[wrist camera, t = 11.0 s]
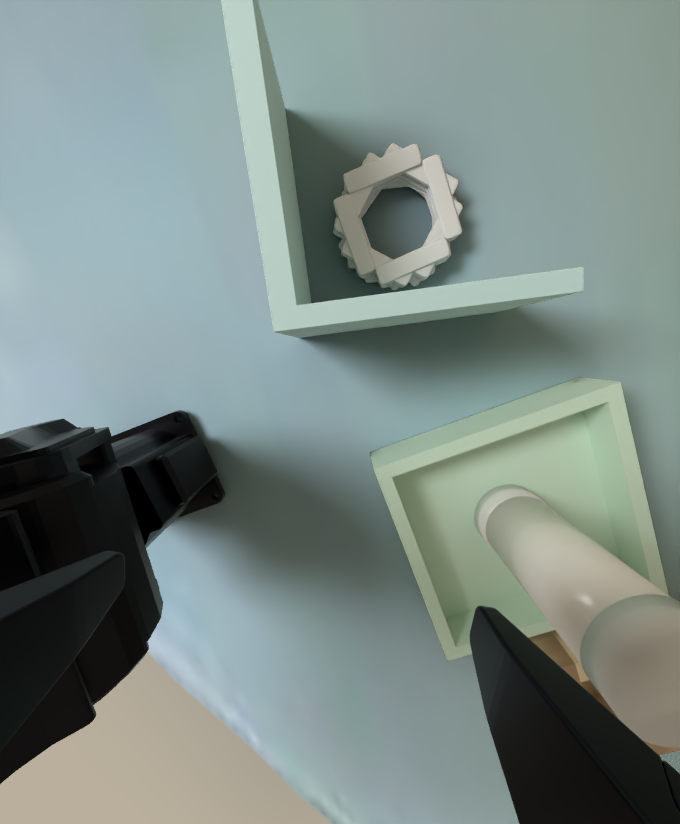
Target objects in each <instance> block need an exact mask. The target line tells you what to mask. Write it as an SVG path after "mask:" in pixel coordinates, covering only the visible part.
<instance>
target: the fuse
mask: <svg viewBox="0 0 680 824" xmlns="http://www.w3.org/2000/svg"><path fill="white" fill-rule="evenodd" d="M474 522H475V526H476V529H477V531H478V532H479V534H480V535H481V536H482V538H483V539H484V540H485V542H486V543H487V544H488V546H489V547H490V548H491V549H492V550H493V551H494V552H495V553H496V554H497V555H498V556H499V557H500V559H501V560H502V561H503V563H504V564H505V565H506V566H507V568H508V569H509V570H510V572H511V573H512V574H513V576H514V577H515V578H516V580H517V581H518V582H519V583H520V585H521V586H522V587H523V589H524V590H525V591H526V593H527V594H528V595H529V597H530V598H531V599H532V600H533V602H534V603H535V604H536V606H537V607H538V608H539V610H540V611H541V612H542V614H543V615H544V616H545V617H546V619H547V620H548V621H549V623H550V624H551V625H552V627H553V628H554V629H555V631H556V632H557V633H558V634H559V636H560V637H561V638H562V640H563V641H564V642H565V644H566V645H567V646H568V648H569V649H570V650H571V651H572V653H573V654H574V655H575V657H576V658H577V659H578V661H579V662H580V663H581V665H582V668H583V670H584V672H585V674H586V675H587V677H588V678H589V680H590V681H591V682H592V684H593V685H594V686H595V688H596V689H597V690H598V692H599V693H600V694H601V696H602V697H603V698H604V700H605V701H606V702H607V704H608V705H609V706H610V708H611V709H612V710H613V712H614V713H615V714H616V715H617V717H618V718H619V719H620V721H621V722H623V723H624V724H625V725H626V726H627V727H628V728H629V729H630V730H631V731H633V732H634V733H635V734H636V735H637V736H638V737H639V738H640V739H641V740H643V741H645V742H648V743H650V744H653V745H657V746H662V747H673V748H678V747H680V601H678V600H676V599H674V598H671V597H669V596H668V595H667V594H665V593H664V592H663V591H661V590H660V589H659V588H657V587H656V586H655V585H653V584H652V583H650V582H649V581H648V580H646V579H645V578H644V577H642V576H641V575H640V574H638V573H637V572H636V571H634V570H633V569H632V568H630V567H629V566H628V565H626V564H625V563H624V562H622V561H621V560H619V559H618V558H617V557H615V556H614V555H613V554H611V553H610V552H609V551H607V550H606V549H605V548H603V547H602V546H601V545H599V544H598V543H597V542H595V541H594V540H593V539H591V538H590V537H589V536H587V535H586V534H584V533H583V532H582V531H580V530H579V529H578V528H576V527H575V526H574V525H572V524H571V523H570V522H568V521H567V520H566V519H564V518H563V517H562V516H560V515H559V514H558V513H556V512H555V511H554V510H552V509H551V508H550V507H549V506H548V504H547V503H545V502H544V501H543V500H542V499H540V498H539V497H537V496H536V495H535V494H533V493H532V492H531V491H529V490H528V489H526V488H524V487H522V486H518V485H511V484H508V485H501V486H498V487H495V488H493V489H491V490H490V491H488V492H487V493H486V494H484V495H483V497H482V498H481V499H480V500H479V502H478V504H477V506H476V508H475V512H474Z"/></svg>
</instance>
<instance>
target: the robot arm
mask: <svg viewBox="0 0 680 824" xmlns="http://www.w3.org/2000/svg"><path fill="white" fill-rule="evenodd" d="M177 415H178V416H180V417H181V422H179V421H178V420H177ZM216 472H217V470H216V468H215V466H214V464H213V462H212V460H211V458H210V456H209V454H208V452H207V449H206V447H205V445H204V443H203V441H202V439H201V438H200V437H198V436H197V434H196V432H195V429H194V427H193V425H192V423H191V421H190V419H189V417H188V415H187V414H186V413H185V412H184V411H181V410H180V411H176V412H173V413H170V414H168V415H165V416H163V417H160V418H158V419H155V420H153V421H150V422H147V423H145V424H142V425H140V426H137V427H135V428H132V429H130V430H127V431H125V432H122V433H120V434H117V435H114V436H112V437H111V433H110V430H109V427H105V428H99V429H94V427H88V428H81V427H79V428H77V427H76V426H74V425H73V424H71V423H69V422H68V421H66V420H65V419H59V420H53V421H48V422H44V423H40V424H36V425H32V426H28V427H24V428H20V429H16V430H13V431H9V432H6V433H4V434H1V435H0V784H1V783H2V782H3V781H4V780H5V779H7V778H8V777H9V776H10V775H11V774H13V773H14V772H15V771H16V770H18V769H19V768H21V767H22V766H23V765H25V764H26V763H28V762H29V761H30V760H32V759H33V758H35V757H36V756H37V755H39V754H40V753H42V752H43V751H44V750H46V749H47V748H48V747H50V746H51V745H53V744H55V743H56V742H58V741H60V740H62V739H63V738H65V737H67V736H69V735H71V734H73V733H74V732H76V731H78V730H80V729H81V728H83V727H85V726H87V725H88V724H90V723H91V722H92V721H93V720H94V718H95V717H96V712H95V709H94V706H93V705H94V704H95V703H96V702H98V701H99V700H101V699H102V698H103V697H104V696H105V695H106V694H108V693H109V692H110V691H111V690H112V689H113V688H114V687H115V686H116V685H117V684H118V683H119V682H120V681H121V680H122V679H124V678H125V677H126V676H127V675H128V674H129V673H130V672H131V671H132V670H133V669H134V667H135V666H136V665H137V664H138V663H139V662H140V660H141V659H142V658H143V657H144V656H145V654H146V653H147V651H148V649H149V645H148V642H147V641H148V640H149V638H150V637H151V635H152V633H153V631H154V629H155V628H156V626H157V624H158V622H159V620H160V618H161V613H162V607H163V601H162V598H161V595H160V591H159V586H158V582H157V579H155V576H154V572H153V569H152V566H151V563H150V560H149V557H148V553H147V550H146V548H147V547H148V546H149V545H150V544H151V543H152V542H153V541H154V540H155V539H156V538H157V537H158V536H159V535H160V534H161V533H162V532H163V531H164V530H165V529H166V528H167V527H168V526H169V525H170V524H171V523H172V522H173V521H174V520H175V519H176V518H178V517H181V516H183V515H186V514H189V513H192V512H195V511H197V510H200V509H203V508H206V507H208V506H211V505H214V504H217V503H219V502H221V500H222V499H223V498H224V496H225V492H224V490H223V488H222V486H221V484H220V481H219V479H218V477H217V475H216ZM214 493H217V494H218V495H219V497H215V496H214ZM470 646H471V650H472V655H473V659H474V664H475V668H476V673H477V677H478V682H479V686H480V691H481V695H482V700H483V704H484V709H485V713H486V717H487V721H488V724H489V727H490V731H491V734H492V737H493V741H494V744H495V747H496V750H497V753H498V757H499V760H500V763H501V766H502V769H503V772H504V776H505V779H506V782H507V785H508V788H509V792H510V795H511V798H512V801H513V804H514V808H515V811H516V814H517V817H518V820H519V823H520V824H680V774H679V773H678V772H677V771H676V770H675V769H674V768H673V767H672V766H671V765H669V764H668V763H667V762H666V761H662V760H661V757H660V756H659V755H658V754H657V753H656V752H655V751H654V750H653V749H651V748H650V747H649V746H648V745H647V744H646V743H645V742H644V741H643V740H641V739H640V738H639V737H638V736H637V735H636V734H635V733H634V732H633V731H631V730H630V729H629V728H628V727H627V726H626V725H625V724H624V723H623V722H621V721H620V720H619V719H618V718H617V717H616V716H615V715H614V714H613V713H611V712H610V711H609V710H608V709H607V708H606V707H605V706H604V705H603V704H601V703H600V702H599V701H598V700H597V699H596V698H595V697H594V696H593V695H591V694H590V693H589V692H588V691H587V690H586V689H585V688H584V687H583V686H581V685H580V684H579V683H578V682H577V681H576V680H575V679H574V678H572V677H571V676H570V675H569V674H568V673H567V672H566V671H565V670H564V669H562V668H561V667H560V666H559V665H558V664H557V663H556V662H555V661H554V660H552V659H551V658H550V657H549V656H548V655H547V654H546V653H545V652H544V651H542V650H541V649H540V648H539V647H538V646H537V645H536V644H535V643H534V642H532V641H531V640H530V639H529V638H528V637H527V636H526V635H525V634H524V633H522V632H521V631H520V630H519V629H518V628H517V627H516V626H515V625H514V624H512V623H511V622H510V621H509V620H508V619H507V618H506V617H505V616H504V615H502V614H501V613H500V612H499V611H498V610H497V609H495V608H493V607H487V606H478V607H477V608H476V610H475V613H474V617H473V621H472V625H471V630H470Z"/></svg>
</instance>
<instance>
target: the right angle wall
mask: <svg viewBox="0 0 680 824" xmlns="http://www.w3.org/2000/svg"><path fill="white" fill-rule="evenodd" d="M221 4H222V10H223V17H224V23H225V29H226V35H227V42H228V48H229V54H230V60H231V67H232V73H233V79H234V86H235V92H236V98H237V104H238V111H239V117H240V123H241V130H242V136H243V142H244V148H245V155H246V161H247V167H248V173H249V180H250V186H251V192H252V199H253V205H254V211H255V217H256V224H257V230H258V236H259V243H260V249H261V255H262V261H263V268H264V274H265V280H266V286H267V293H268V299H269V305H270V312H271V318H272V324H273V330H274V332H277V333H281V334H285V335H289V336H293V337H297V338H302V337H310V336H318V335H325V334H333V333H341V332H348V331H356V330H364V329H371V328H379V327H387V326H394V325H402V324H410V323H417V322H425V321H433V320H440V319H448V318H456V317H464V316H471V315H479V314H487V313H494V312H500V311H505V310H509V309H513V308H517V307H521V306H525V305H529V304H533V303H537V302H541V301H545V300H549V299H553V298H557V297H561V296H565V295H569V294H573V293H578V292H582V291H583V267H578V268H570V269H563V270H555V271H548V272H541V273H533V274H526V275H518V276H511V277H503V278H496V279H488V280H481V281H474V282H466V283H459V284H451V285H444V286H436V287H429V288H422V289H414V290H407V291H399V292H392V293H384V294H377V295H369V296H362V297H355V298H347V299H340V300H332V301H325V302H317V303H312V302H311V295H310V287H309V280H308V273H307V265H306V258H305V251H304V243H303V236H302V229H301V221H300V214H299V206H298V199H297V192H296V184H295V177H294V170H293V162H292V155H291V148H290V140H289V133H288V126H287V118H286V111H285V106H284V102H283V98H282V94H281V90H280V86H279V82H278V78H277V74H276V70H275V66H274V62H273V59H272V55H271V51H270V47H269V43H268V39H267V35H266V31H265V27H264V23H263V19H262V15H261V11H260V7H259V3H258V0H221ZM343 180H344V183H345V185H344V190H345V191H343V192H342V196H341V197H338V198H336V199H335V200H333V205H334V207H335V208H334V209H335V212H336V215H337V217H336V219H335V224H334V230H333V233H334V234H335V235H336V236H338V237H340V238H342V240H341V241H340V243H339V248H340V249H341V255H342V256H344V257H346V258H347V262H348V267H349V269H356V271H357V274H358V276H359V277H361V278H362V279H365V282H366V283H374V282H378V283H379V284H380V286H381V288H386V287H389V288H391V289H392V290H394V291H395V290H397V289H398V287H401V288H403V287H404V286H406V285H407V284H408V282H409V283H410V284H411V285H413V286H417V285H418V284H419V283H420V281H421V280H425V279H426V278H428V277H429V275H433V274H434V273H435V266H437V265H439V264H441V263H443V262H446V261H447V260H448V258H449V257H450V256H451V250H450V241H452V240H454V239H456V238H457V237H458V235H460V234H461V233H462V227H461V224H460V221H459V215H460V213H461V211H462V209H463V205H462V204H461V203H459V202H458V201H457V200H456V198H455V197H454V196H452V195H453V194H454V192H455V190H456V188H457V186H458V183H459V181H458V180H457V179H456V178H454V177H452V176H451V175H449V174H447V173H445V170H444V167H443V163H442V160H441V157H440V155H439V154H436V155H433V156H430V157H428V158H426V159H424V160H422V158H421V154H420V150H419V147H418V145H417V144H412V145H410V146H407V147H405V148H401V147H400V146H398V145H396V144H393V143H392V144H391V145H390V146H389V148H388V149H387V150H386V152H385V154H384V156H383V157H382V158H380V157H378V156H376V155H375V154H373V153H369V154H367V156H366V158H365V160H364V161H363V163H362V165H361V167H358V168H356V169H354V170H351V171H349V172H347V173H344V175H343ZM400 187H410V188H412V189H414V190H416V191H417V192H418V193H419V194H420V195H422V196H423V197H424V198H425V199H426V201H427V204H428V207H429V210H430V213H431V216H432V229H431V231H430V233H429V235H428V237H427V239H426V241H425V242H424V244H423V246H422V247H421V248H419V249H416V250H414V251H412V252H410V253H407V254H405V255H403V256H401V257H398V258H396V259H394V260H393V259H391V258H389V257H387V256H386V255H384V254H382V253H380V252H378V251H376V250H374V249H373V248H371V245H370V242H369V239H368V237H367V234H366V231H365V228H364V225H363V222H362V217H363V216H364V214H365V213H366V211H367V210H368V208H369V207H370V205H371V204H372V202H373V201H374V200H375V198H376V197H377V195H378V194H379V192H380V191H381V189H390V188H400Z"/></svg>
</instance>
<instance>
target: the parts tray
mask: <svg viewBox="0 0 680 824" xmlns="http://www.w3.org/2000/svg"><path fill="white" fill-rule="evenodd" d="M370 455H371V460H372V465H373V469H374V472H375V474H376V477H377V480H378V482H379V485H380V487H381V490H382V493H383V495H384V498H385V500H386V503H387V506H388V508H389V511H390V513H391V516H392V519H393V521H394V524H395V526H396V529H397V532H398V534H399V537H400V539H401V542H402V544H403V547H404V550H405V552H406V555H407V557H408V560H409V563H410V565H411V568H412V570H413V573H414V576H415V578H416V581H417V583H418V586H419V589H420V591H421V594H422V596H423V599H424V602H425V604H426V607H427V609H428V612H429V614H430V617H431V620H432V622H433V625H434V627H435V630H436V633H437V635H438V638H439V640H440V643H441V646H442V648H443V651H444V653H445V656H446V659H447V661H450V660H453V659H457V658H460V657H464V656H467V655H470V654H472V650H471V646H470V630H471V625H472V621H473V617H474V613H475V610H476V608H477V607H478V606H487V607H493V608H495V609H497V610H498V611H499V612H500V613H501V614H502V615H504V616H505V617H506V618H507V619H508V620H509V621H510V622H511V623H512V624H514V625H515V626H516V627H517V628H518V629H519V630H520V631H521V632H522V633H524V634H525V635H526V636H527V637H528V638H529V637H532V636H536V635H539V634H543V633H546V632H549V631H553V630H555V629H554V628H553V627H552V625H551V624H550V623H549V621H548V620H547V619H546V617H545V616H544V615H543V614H542V612H541V611H540V610H539V608H538V607H537V606H536V604H535V603H534V602H533V600H532V599H531V598H530V597H529V595H528V594H527V593H526V591H525V590H524V589H523V587H522V586H521V585H520V583H519V582H518V581H517V580H516V578H515V577H514V576H513V574H512V573H511V572H510V570H509V569H508V568H507V566H506V565H505V564H504V563H503V561H502V560H501V559H500V557H499V556H498V555H497V554H496V553H495V552H494V551H493V550H492V549H491V548H490V547H489V546H488V544H487V543H486V542H485V540H484V539H483V538H482V536H481V535H480V534H479V532H478V531H477V529H476V526H475V522H474V512H475V508H476V506H477V504H478V502H479V500H480V499H481V498H482V497H483V495H484V494H486V493H487V492H488V491H490V490H491V489H493V488H495V487H498V486H501V485H508V484H511V485H518V486H522V487H524V488H526V489H528V490H529V491H531V492H532V493H533V494H535V495H536V496H537V497H539V498H540V499H542V500H543V501H544V502H545V503H547V504H548V506H549V507H550V508H551V509H552V510H554V511H555V512H556V513H558V514H559V515H560V516H562V517H563V518H564V519H566V520H567V521H568V522H570V523H571V524H572V525H574V526H575V527H576V528H578V529H579V530H580V531H582V532H583V533H584V534H586V535H587V536H589V537H590V538H591V539H593V540H594V541H595V542H597V543H598V544H599V545H601V546H602V547H603V548H605V549H606V550H607V551H609V552H610V553H611V554H613V555H614V556H615V557H617V558H618V559H619V560H621V561H622V562H624V563H625V564H626V565H628V566H629V567H630V568H632V569H633V570H634V571H636V572H637V573H638V574H640V575H641V576H642V577H644V578H645V579H646V580H648V581H649V582H650V583H652V584H653V585H655V586H656V587H657V588H659V589H660V590H661V591H663V592H664V593H665V594H667V595H668V590H667V586H666V581H665V577H664V572H663V568H662V564H661V559H660V555H659V550H658V546H657V541H656V537H655V533H654V528H653V524H652V519H651V515H650V510H649V506H648V502H647V497H646V493H645V488H644V484H643V480H642V475H641V471H640V466H639V462H638V457H637V453H636V449H635V444H634V440H633V435H632V431H631V426H630V422H629V418H628V413H627V409H626V404H625V400H624V396H623V391H622V387H621V382H616V381H608V380H600V379H591V378H583V377H578V378H576V379H573V380H570V381H567V382H565V383H562V384H559V385H556V386H553V387H551V388H548V389H545V390H542V391H539V392H537V393H534V394H531V395H528V396H526V397H523V398H520V399H517V400H514V401H512V402H509V403H506V404H503V405H500V406H498V407H495V408H492V409H489V410H487V411H484V412H481V413H478V414H475V415H473V416H470V417H467V418H464V419H461V420H459V421H456V422H453V423H450V424H448V425H445V426H442V427H439V428H436V429H434V430H431V431H428V432H425V433H423V434H420V435H417V436H414V437H411V438H409V439H406V440H403V441H400V442H397V443H395V444H392V445H389V446H386V447H384V448H381V449H378V450H375V451H372V452H370ZM668 596H669V595H668Z"/></svg>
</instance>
